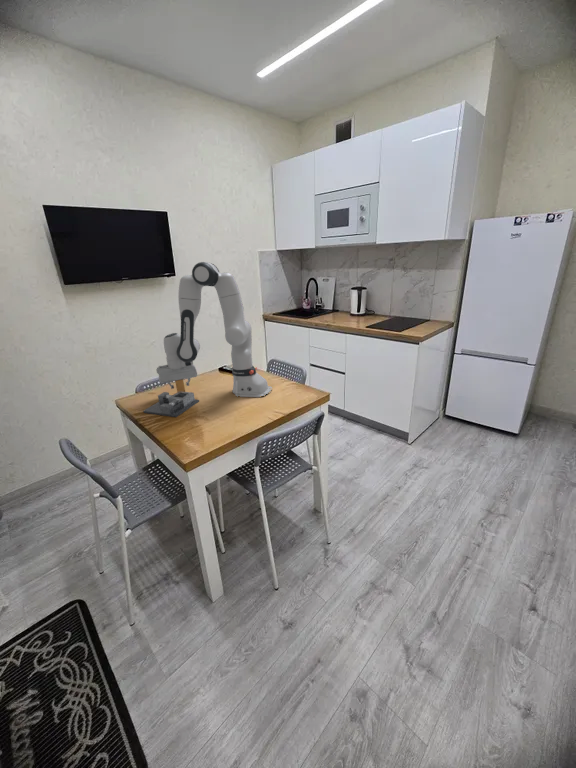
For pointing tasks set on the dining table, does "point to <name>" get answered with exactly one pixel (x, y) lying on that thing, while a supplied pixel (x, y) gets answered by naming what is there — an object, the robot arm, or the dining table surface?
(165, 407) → the coupling frame
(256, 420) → the dining table surface
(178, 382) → the orange brown rectangular block
